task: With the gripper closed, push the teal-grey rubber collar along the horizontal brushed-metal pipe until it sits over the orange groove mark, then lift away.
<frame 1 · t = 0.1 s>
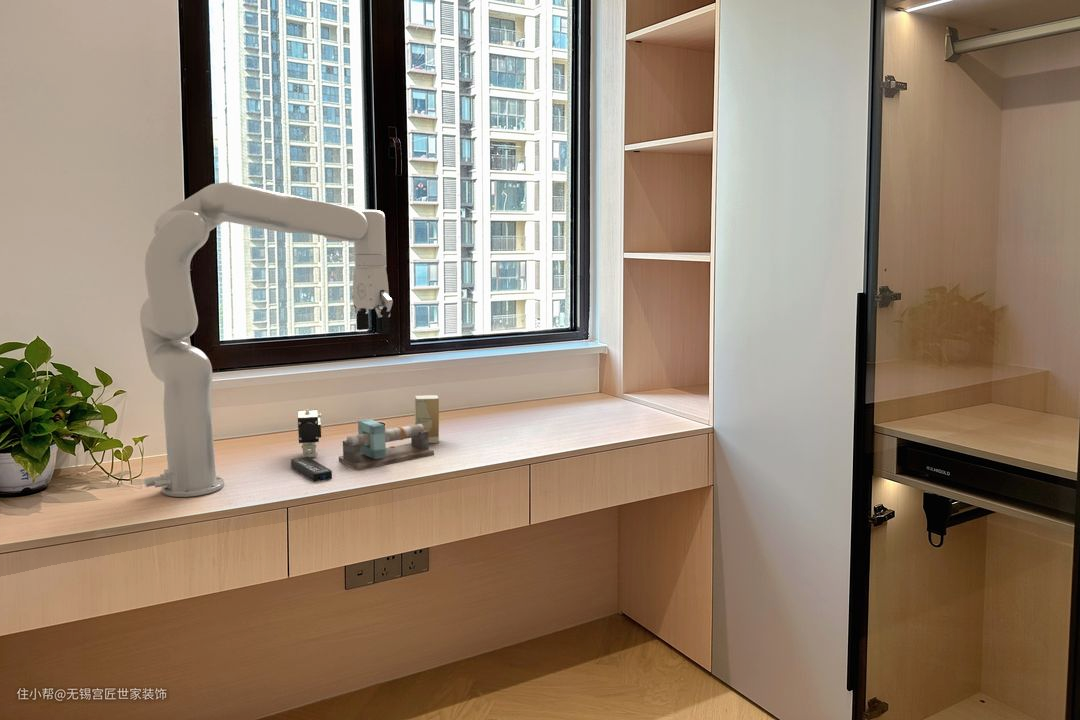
hand: (373, 331, 207), 31 cm above the table, fingers open, 9 cm apart
collar: (371, 438, 205), point 5 cm above the table, slide at -4.0 cm
skincare box: (427, 442, 223), on the table
multiport hub: (311, 475, 196), on the table
pipe stand: (387, 457, 208), on the table
pneumatic valve: (311, 457, 209), on the table
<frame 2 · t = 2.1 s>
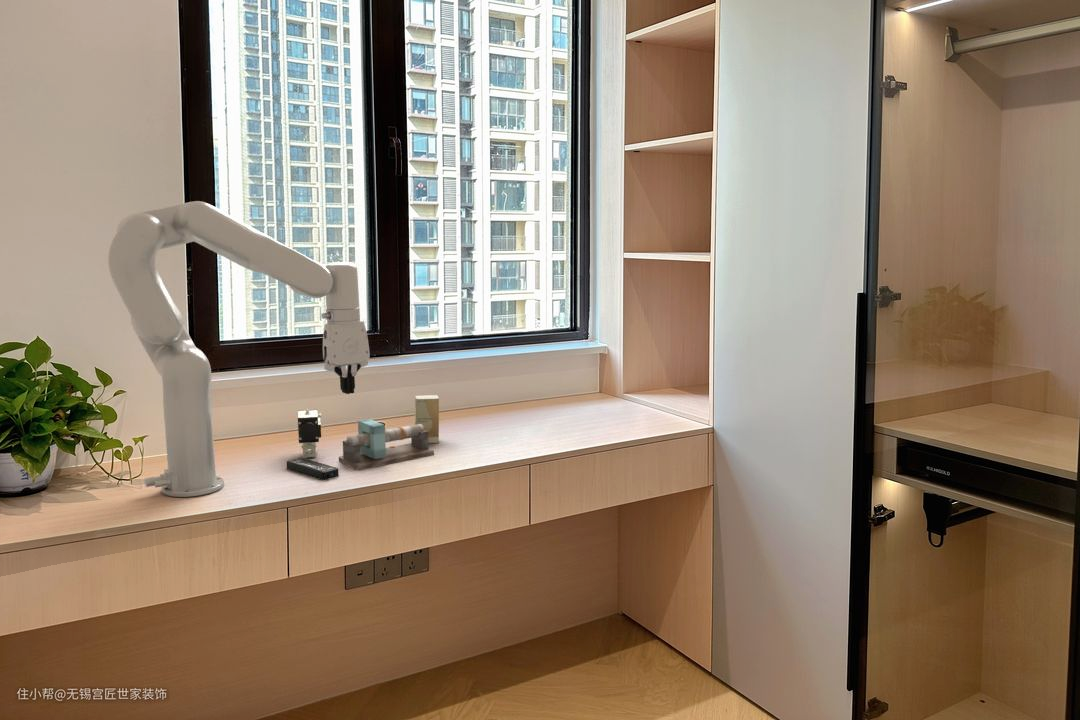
hand: (348, 392, 199), 18 cm above the table, fingers closed
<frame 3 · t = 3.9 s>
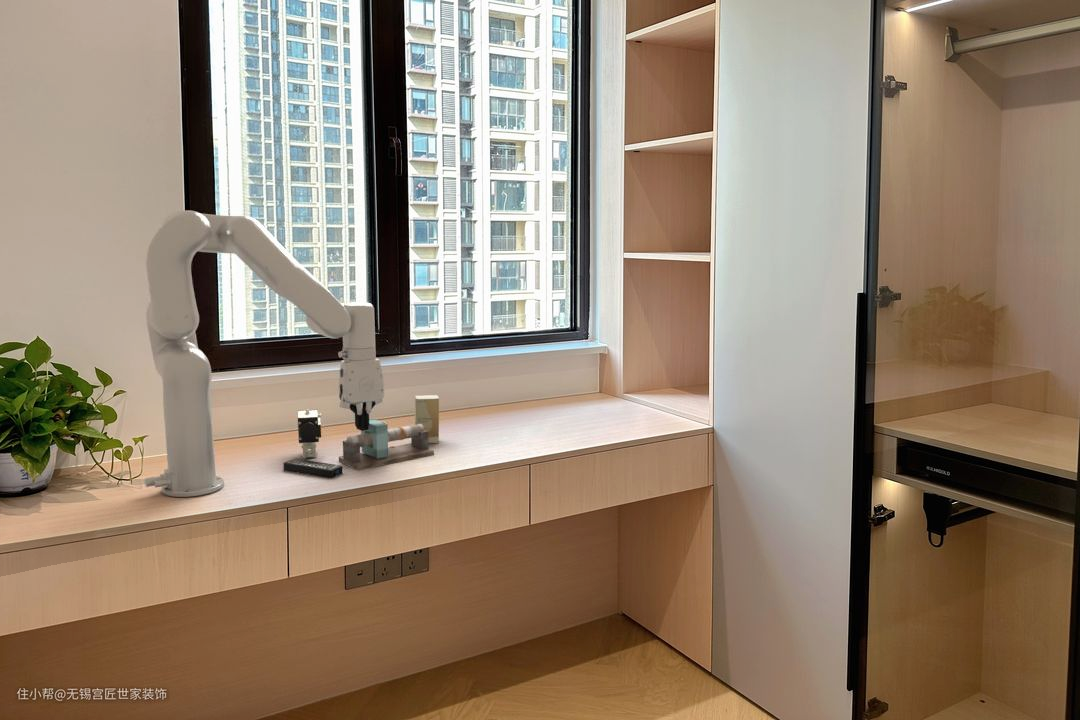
hand: (362, 429, 203), 8 cm above the table, fingers closed
collar: (374, 438, 205), point 6 cm above the table, slide at -3.3 cm, touching gripper
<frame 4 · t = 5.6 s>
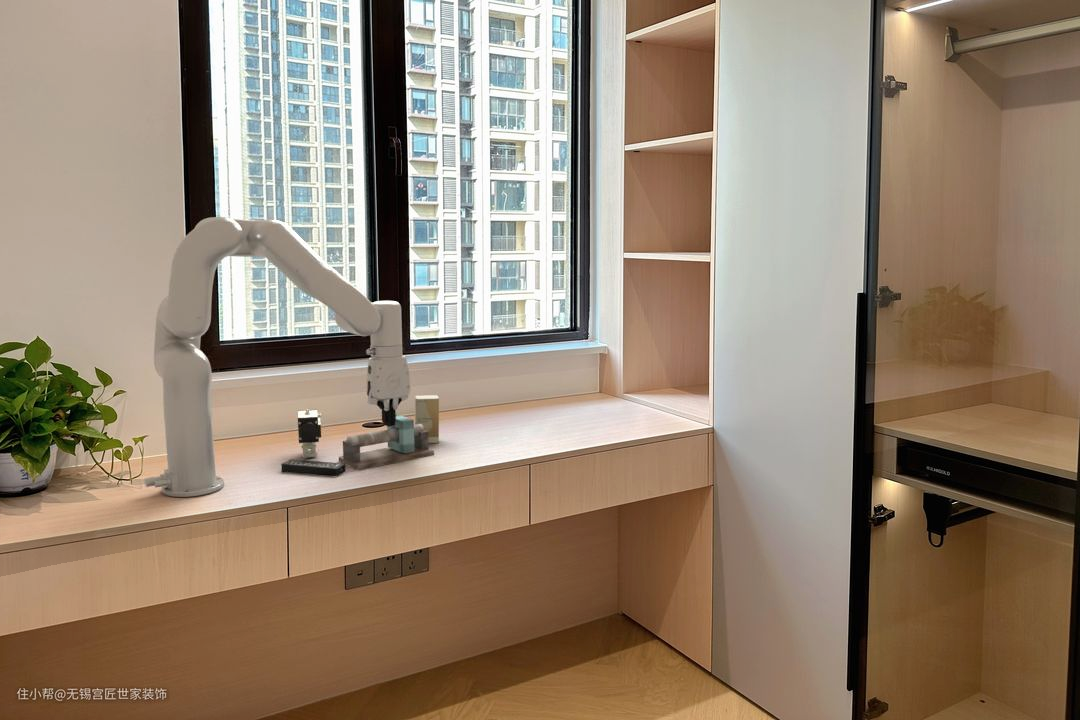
hand: (389, 425, 207), 8 cm above the table, fingers closed
collar: (400, 433, 210), point 5 cm above the table, slide at 4.0 cm
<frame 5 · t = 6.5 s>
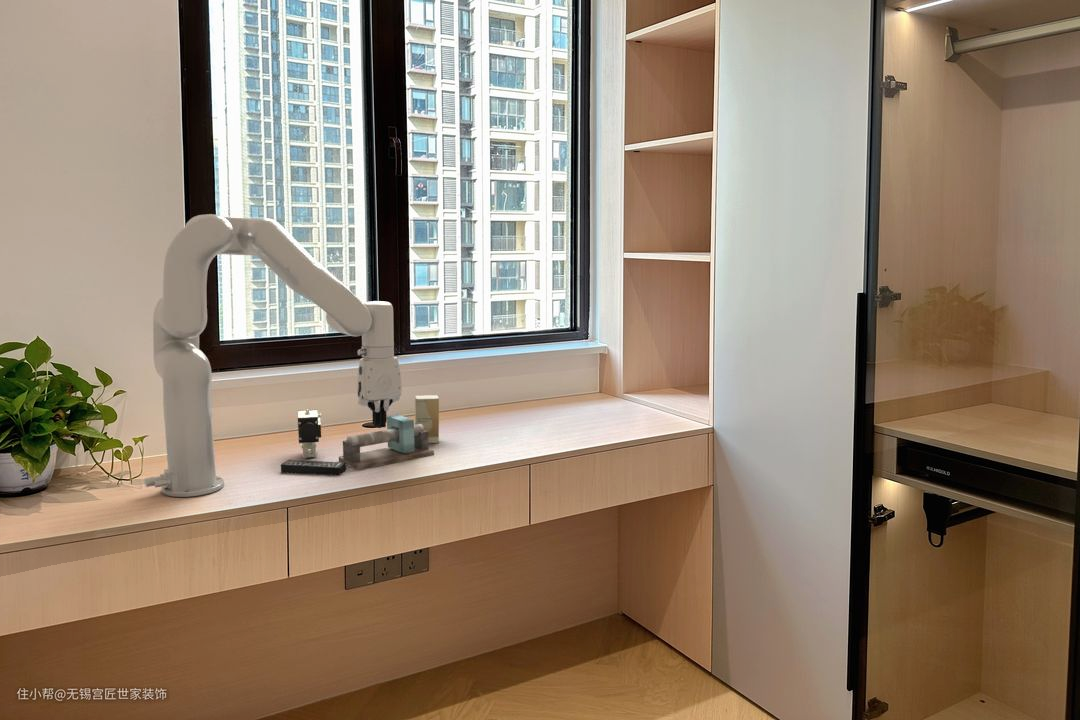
hand: (379, 426, 206), 8 cm above the table, fingers closed
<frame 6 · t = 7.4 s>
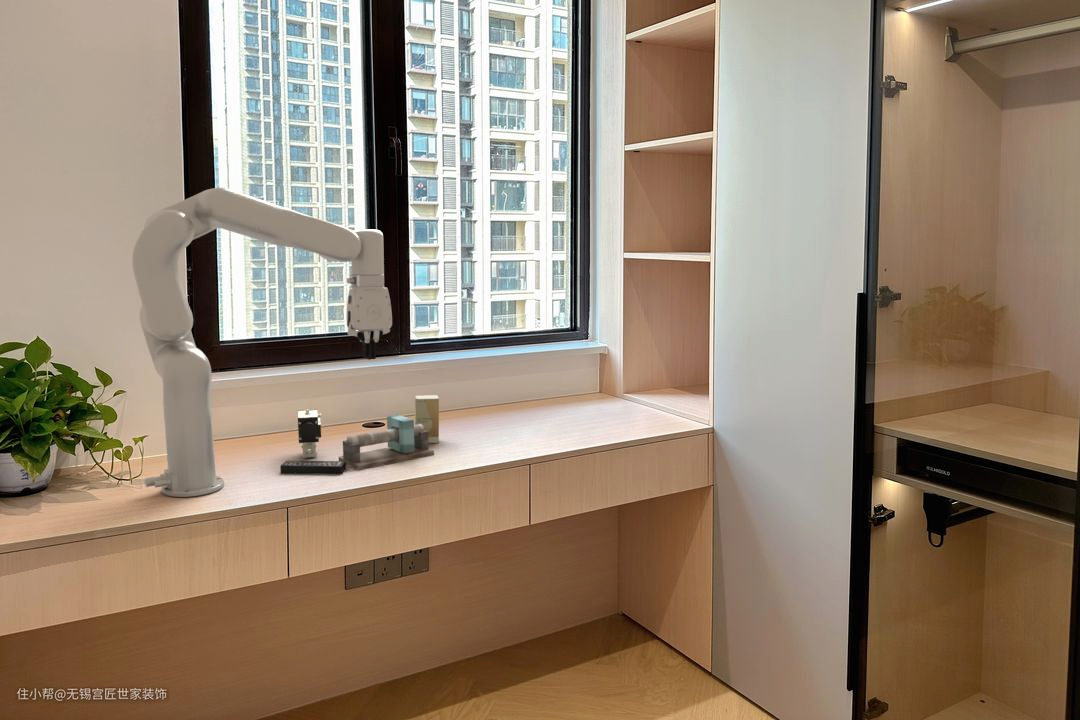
hand: (369, 358, 202), 25 cm above the table, fingers closed
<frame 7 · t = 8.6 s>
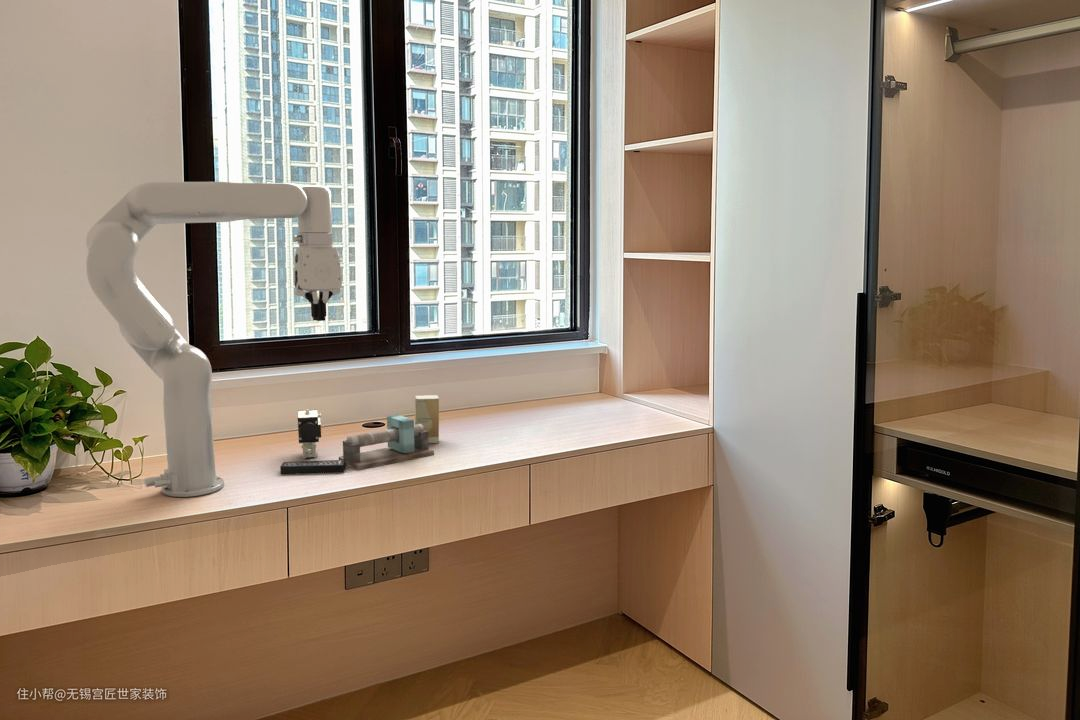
hand: (319, 320, 195), 35 cm above the table, fingers closed
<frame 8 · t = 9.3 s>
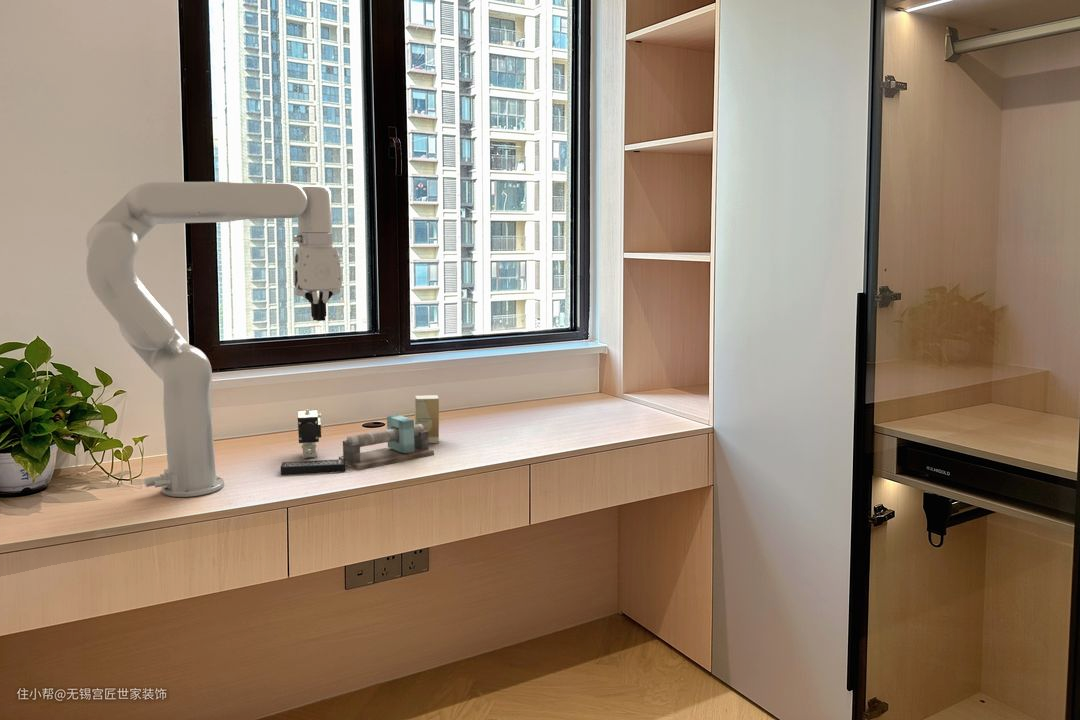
hand: (319, 320, 195), 35 cm above the table, fingers closed
at the end: collar slide at 4.0 cm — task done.
